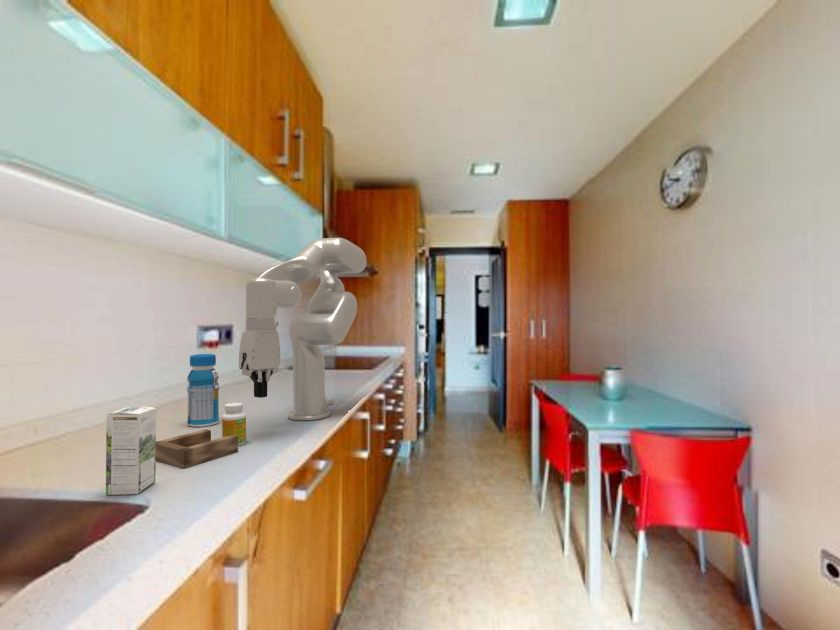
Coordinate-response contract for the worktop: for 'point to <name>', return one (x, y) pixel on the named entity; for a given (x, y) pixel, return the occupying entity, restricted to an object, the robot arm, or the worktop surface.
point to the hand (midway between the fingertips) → (260, 396)
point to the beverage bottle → (203, 391)
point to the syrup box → (130, 450)
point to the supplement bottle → (234, 422)
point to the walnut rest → (194, 448)
